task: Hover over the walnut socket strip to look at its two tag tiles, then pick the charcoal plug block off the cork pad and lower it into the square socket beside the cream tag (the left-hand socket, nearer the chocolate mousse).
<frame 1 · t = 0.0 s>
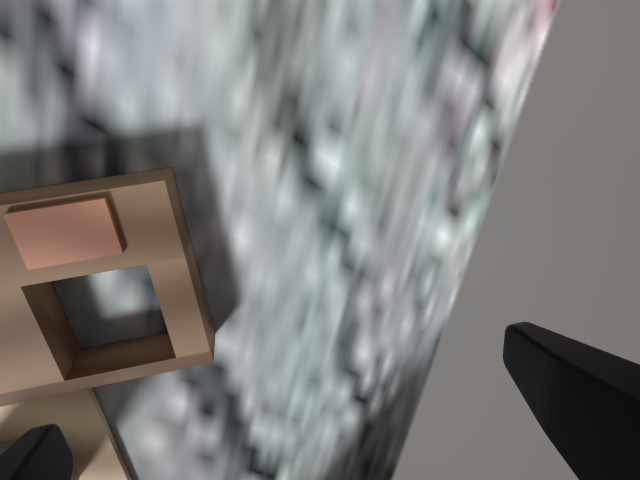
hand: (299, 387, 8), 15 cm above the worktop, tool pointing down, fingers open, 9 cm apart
socket strip: (15, 290, 21), on the worktop
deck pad: (36, 454, 25), on the worktop
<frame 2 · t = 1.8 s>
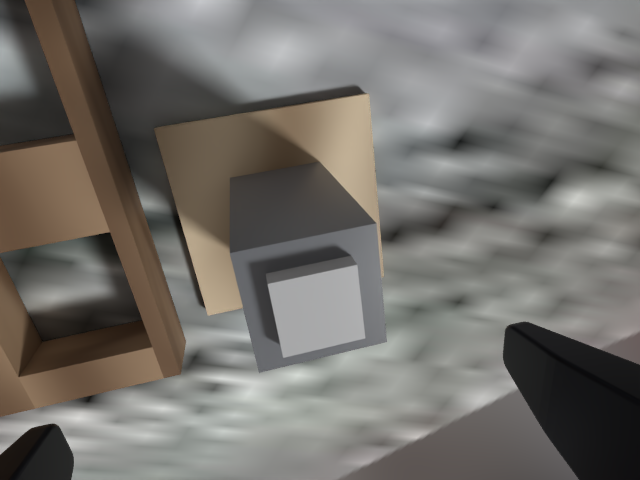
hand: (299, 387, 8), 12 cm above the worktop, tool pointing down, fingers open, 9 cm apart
socket strip: (3, 191, 17), on the worktop
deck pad: (281, 208, 20), on the worktop
plug: (283, 212, 19), resting on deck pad
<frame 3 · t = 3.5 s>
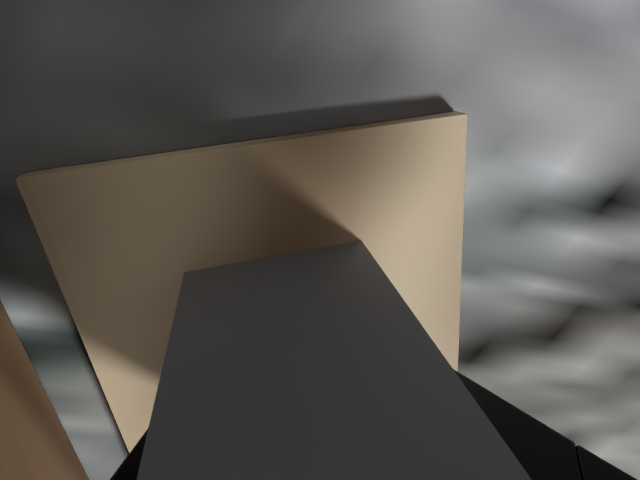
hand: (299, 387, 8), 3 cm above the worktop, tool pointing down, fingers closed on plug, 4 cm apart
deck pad: (285, 317, 11), on the worktop
plug: (287, 329, 10), resting on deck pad, touching gripper
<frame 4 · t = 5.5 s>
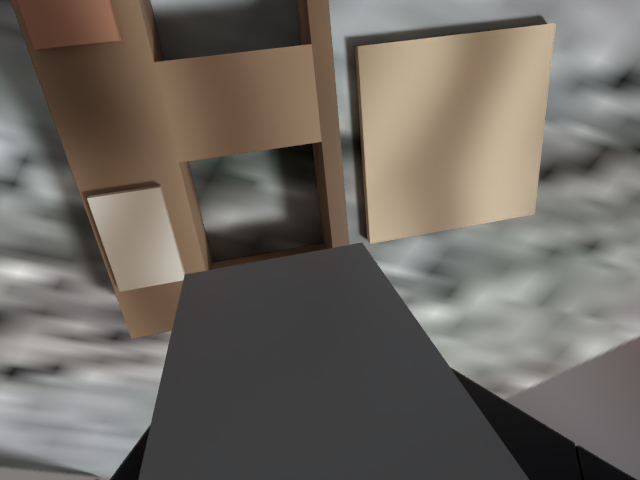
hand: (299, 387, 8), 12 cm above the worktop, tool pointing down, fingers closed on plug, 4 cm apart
socket strip: (206, 103, 17), on the worktop
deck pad: (451, 138, 20), on the worktop
plug: (287, 331, 10), point 10 cm above the worktop, touching gripper
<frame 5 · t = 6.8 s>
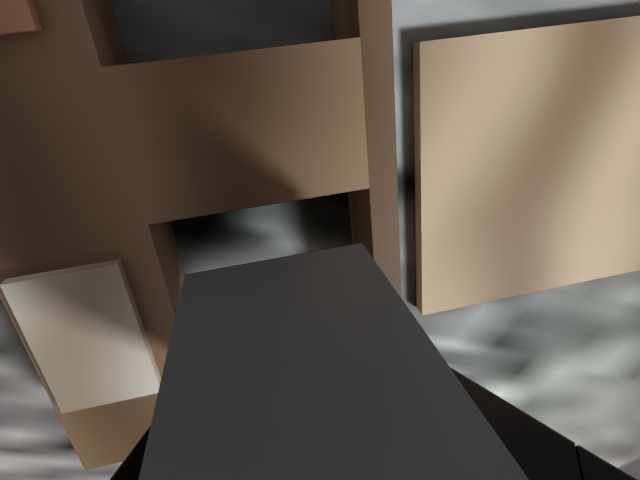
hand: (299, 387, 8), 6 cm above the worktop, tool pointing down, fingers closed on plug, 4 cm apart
socket strip: (193, 127, 12), on the worktop
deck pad: (539, 171, 14), on the worktop
plug: (288, 331, 10), point 4 cm above the worktop, touching gripper
when the fingers open (4 cm above the worktop, at t = 7.7 s): plug drops 2 cm, resting in socket strip.
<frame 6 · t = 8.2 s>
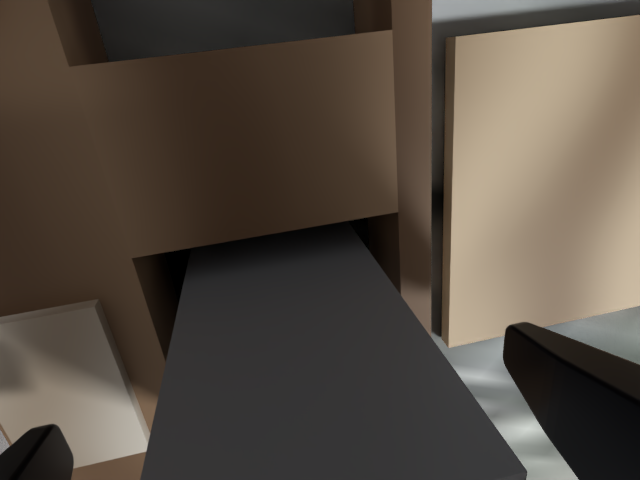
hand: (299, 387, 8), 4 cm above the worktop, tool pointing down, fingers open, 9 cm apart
socket strip: (187, 138, 10), on the worktop
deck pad: (584, 186, 13), on the worktop
plug: (279, 289, 12), resting in socket strip
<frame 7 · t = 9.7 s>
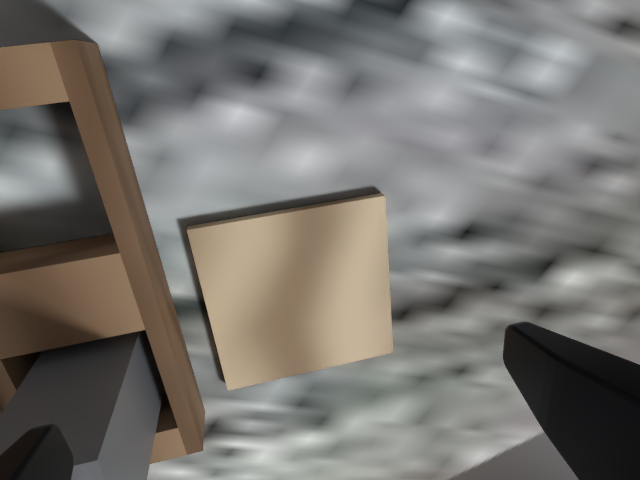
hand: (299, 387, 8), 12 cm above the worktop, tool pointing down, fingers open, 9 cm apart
socket strip: (42, 284, 18), on the worktop
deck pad: (300, 293, 21), on the worktop
plug: (112, 359, 20), resting in socket strip
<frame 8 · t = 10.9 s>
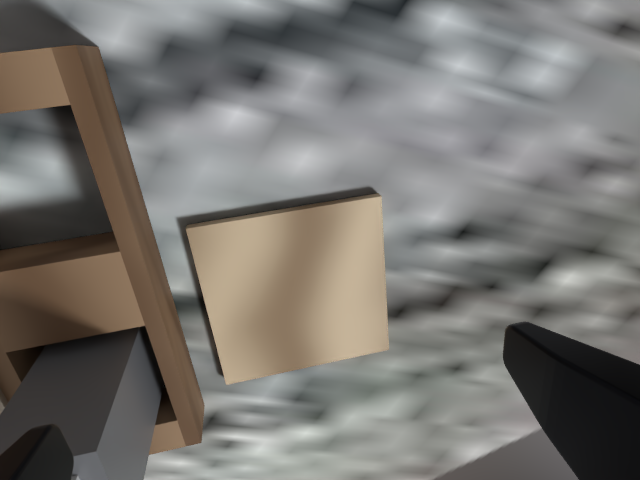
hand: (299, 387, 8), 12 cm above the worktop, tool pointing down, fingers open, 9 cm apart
socket strip: (46, 280, 19), on the worktop
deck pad: (297, 291, 21), on the worktop
plug: (114, 353, 21), resting in socket strip
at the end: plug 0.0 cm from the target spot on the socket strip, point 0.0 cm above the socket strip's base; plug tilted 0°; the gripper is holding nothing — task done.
